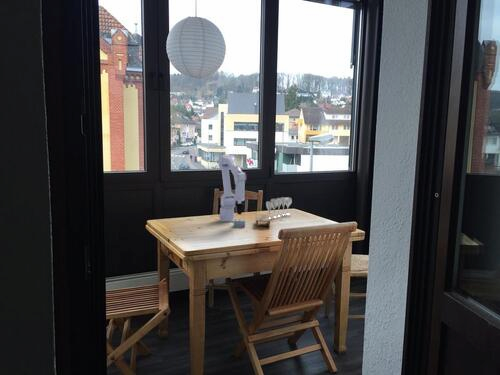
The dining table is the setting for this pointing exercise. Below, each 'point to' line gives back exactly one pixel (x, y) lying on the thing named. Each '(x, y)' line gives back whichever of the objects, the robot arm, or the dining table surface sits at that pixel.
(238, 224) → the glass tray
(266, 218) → the walnut shelf
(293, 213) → the dining table surface
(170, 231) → the dining table surface
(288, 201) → the goblet set
